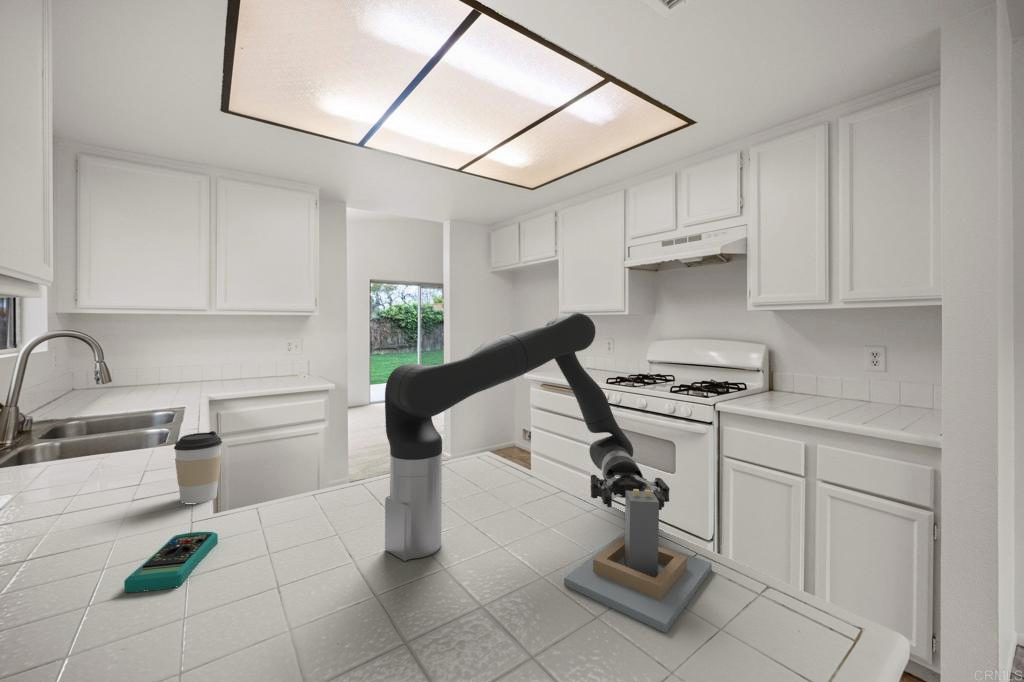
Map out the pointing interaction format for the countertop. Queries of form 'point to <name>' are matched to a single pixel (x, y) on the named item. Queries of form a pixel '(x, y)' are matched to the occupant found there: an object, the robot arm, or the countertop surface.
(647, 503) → the connector
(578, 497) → the countertop surface
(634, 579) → the holder
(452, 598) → the countertop surface
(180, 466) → the coffee cup
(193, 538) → the digital multimeter
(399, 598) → the countertop surface
